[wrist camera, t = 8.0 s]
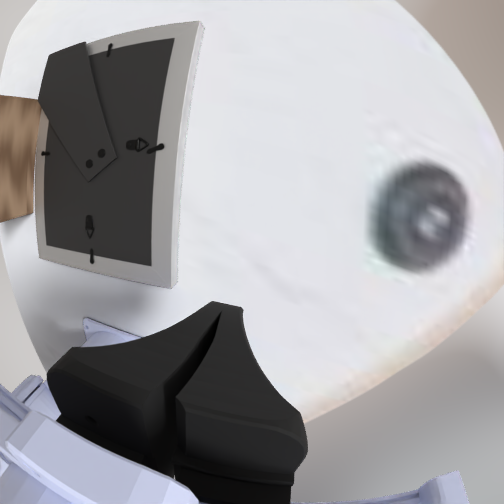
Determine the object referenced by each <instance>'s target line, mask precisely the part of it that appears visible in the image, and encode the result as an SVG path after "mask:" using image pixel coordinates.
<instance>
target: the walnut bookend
mask: <svg viewBox="0 0 504 504" xmlns="http://www.w3.org/2000/svg"><path fill="white" fill-rule="evenodd" d="M41 110H42V108H41V106H40V104H39V102H38V100H37V99H30V98H22V97H13V96H4V95H0V223H1V222H4V221H7V220H10V219H14V218H17V217H20V216H24V215H27V214H31V213H33V184H34V166H35V154H36V145H37V137H38V130H39V123H40V116H41Z"/></svg>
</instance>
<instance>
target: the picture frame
mask: <svg viewBox="0 0 504 504" xmlns="http://www.w3.org/2000/svg"><path fill="white" fill-rule="evenodd" d="M204 30H205V28H204V26H203V25H202V23H201V22H200V21H193V22H183V23H175V24H168V25H161V26H155V27H150V28H144V29H140V30H135V31H130V32H126V33H122V34H118V35H114V36H111V37H107V38H104V39H100V40H97V41H94V42H91V43H88V44H86V42H82V43H79V44H76V45H73V46H70V47H68V48H65V49H62V50H60V51H57V52H55V53H53V54H50V55H49V57H48V60H47V64H46V67H45V71H44V75H43V79H42V83H41V88H40V92H39V97H38V102H39V104H40V106H41V108H42V110H41V116H40V123H39V130H38V139H37V150H36V164H35V217H36V232H37V243H38V252H39V258H41V259H45V260H48V261H52V262H56V263H59V264H63V265H67V266H71V267H75V268H79V269H83V270H87V271H91V272H95V273H99V274H104V275H108V276H112V277H117V278H121V279H126V280H130V281H135V282H140V283H144V284H149V285H154V286H159V287H164V288H169V289H172V288H173V287H174V285H175V284H176V283H177V282H178V246H179V222H180V205H181V191H182V178H183V167H184V157H185V147H186V139H187V130H188V122H189V115H190V108H191V101H192V94H193V88H194V82H195V76H196V70H197V65H198V59H199V54H200V49H201V44H202V39H203V34H204Z"/></svg>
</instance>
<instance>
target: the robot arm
mask: <svg viewBox="0 0 504 504" xmlns="http://www.w3.org/2000/svg"><path fill="white" fill-rule="evenodd" d="M83 325H84V331H85V336H86V342H85V343H84V344H83V345H82V346H81V347H72V348H71V349H70V350H69V351H68V352H67V353H66V354H65V355H64V356H62V357H61V358H60V359H59V360H58V361H57V362H56V363H55V364H54V365H53V366H52V367H51V368H50V369H49V371H48V372H47V380H46V381H45V382H44V383H42V382H43V379H42V378H41V376H39V375H38V376H35V375H30V376H29V377H27V379H25V380H24V381H23V382H22V383H21V384H20V385H19V386H18V387H17V388H16V389H15V390H14V391H13V392H12V393H10V392H9V391H8V390H7V389H5V388H4V387H3V386H2V385H1V384H0V504H470V503H469V500H468V497H467V494H466V491H465V488H464V485H463V482H462V479H461V476H460V473H459V471H457V470H456V471H453V472H450V473H447V474H444V475H440V476H437V477H435V478H433V479H431V480H429V481H427V482H426V483H424V484H423V485H422V486H421V487H420V488H419V489H417V490H413V491H409V492H404V493H400V494H395V495H389V496H383V497H378V498H370V499H362V500H353V501H341V502H309V503H307V502H290V498H291V486H293V484H294V472H295V471H296V469H297V468H298V467H299V466H300V464H301V463H302V462H303V460H304V459H305V457H306V455H307V452H308V444H307V436H306V431H305V427H304V423H303V420H302V416H301V414H300V412H299V411H298V410H296V409H295V408H294V407H293V406H292V405H291V404H290V403H289V402H287V401H286V400H285V399H284V398H283V397H282V396H281V395H280V394H279V393H278V392H277V390H276V389H275V388H274V387H273V385H272V384H271V383H270V381H269V380H268V379H267V377H266V376H265V374H264V373H263V371H262V370H261V368H260V366H259V365H258V363H257V361H256V359H255V357H254V355H253V352H252V350H251V348H250V345H249V342H248V339H247V336H246V332H245V328H244V323H243V309H242V308H241V307H238V306H233V305H228V304H224V303H219V302H215V301H211V302H210V303H208V304H207V305H205V306H204V307H202V308H201V309H199V310H198V311H196V312H195V313H193V314H192V315H190V316H189V317H187V318H185V319H184V320H182V321H180V322H178V323H177V324H175V325H173V326H171V327H169V328H167V329H165V330H162V331H160V332H157V333H155V334H152V335H149V336H146V337H143V338H141V337H138V336H135V335H132V334H129V333H126V332H123V331H120V330H117V329H115V328H112V327H109V326H106V325H104V324H101V323H99V322H96V321H93V320H91V319H88V318H85V319H84V320H83ZM174 475H175V480H174Z"/></svg>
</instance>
